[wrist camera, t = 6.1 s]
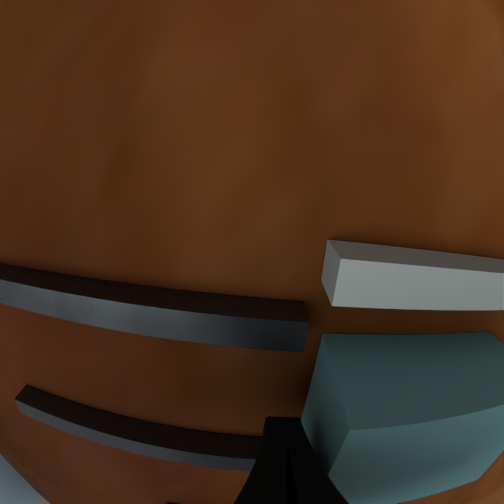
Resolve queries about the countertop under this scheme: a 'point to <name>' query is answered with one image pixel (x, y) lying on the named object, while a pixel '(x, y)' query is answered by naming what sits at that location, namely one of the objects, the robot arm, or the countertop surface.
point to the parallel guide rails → (156, 325)
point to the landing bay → (410, 278)
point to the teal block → (405, 412)
